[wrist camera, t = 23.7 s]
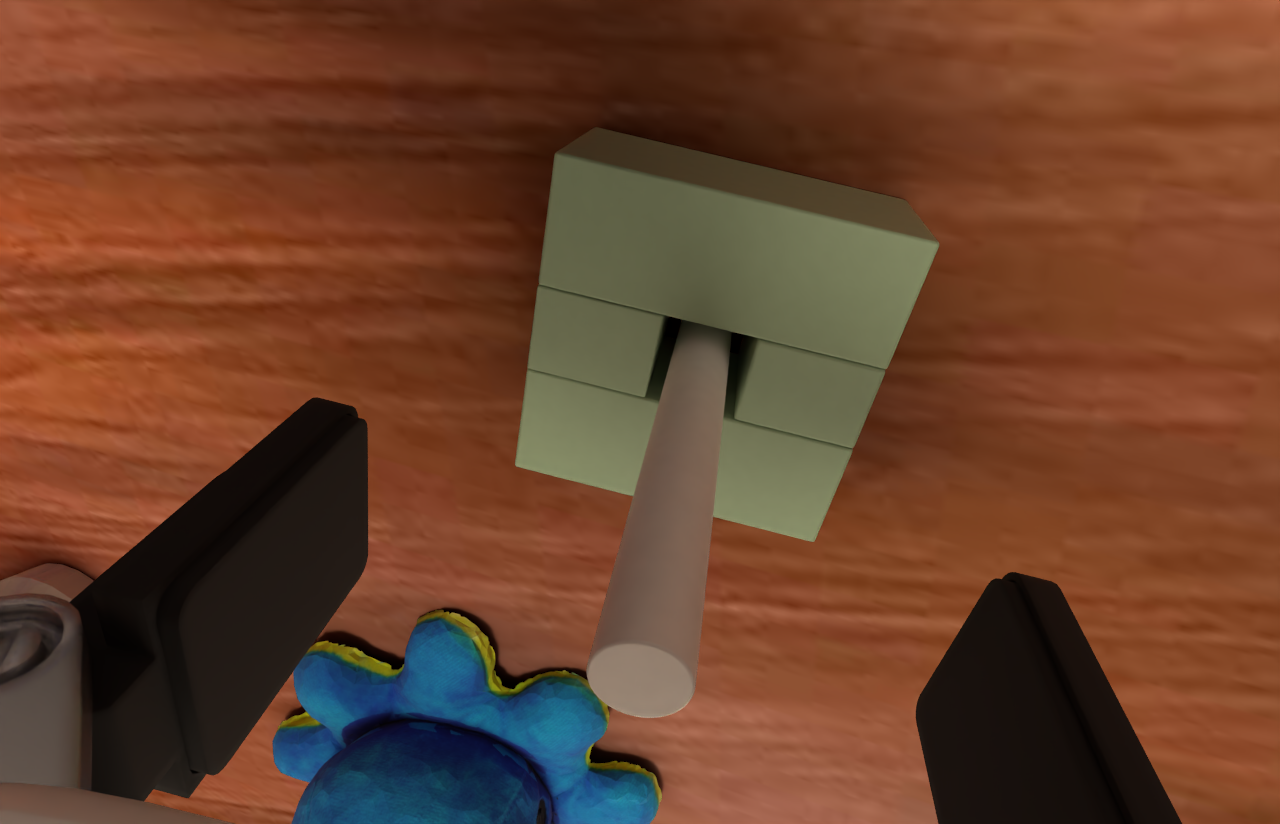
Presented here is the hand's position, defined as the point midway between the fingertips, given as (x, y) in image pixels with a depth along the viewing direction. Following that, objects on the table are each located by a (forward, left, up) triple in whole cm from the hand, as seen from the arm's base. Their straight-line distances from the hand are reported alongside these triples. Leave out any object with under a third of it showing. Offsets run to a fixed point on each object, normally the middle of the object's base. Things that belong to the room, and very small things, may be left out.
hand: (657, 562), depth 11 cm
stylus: (0, 0, -11) cm, 11 cm away
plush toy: (+24, -5, -11) cm, 27 cm away
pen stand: (0, 0, -11) cm, 11 cm away
